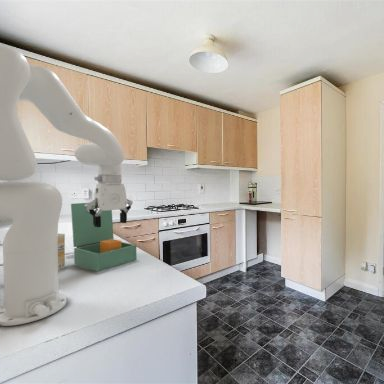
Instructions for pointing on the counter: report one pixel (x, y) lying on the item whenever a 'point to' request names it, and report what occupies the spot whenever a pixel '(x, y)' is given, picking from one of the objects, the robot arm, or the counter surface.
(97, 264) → the lunchbox
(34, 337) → the counter surface
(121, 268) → the counter surface
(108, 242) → the juice carton
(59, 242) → the supplement box
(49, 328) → the counter surface
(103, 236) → the lunchbox lid
